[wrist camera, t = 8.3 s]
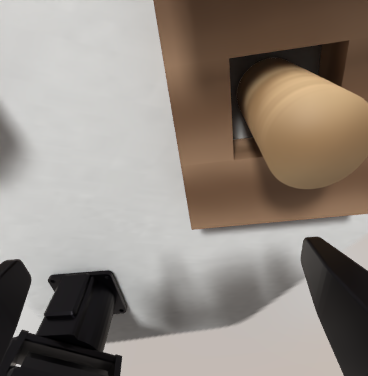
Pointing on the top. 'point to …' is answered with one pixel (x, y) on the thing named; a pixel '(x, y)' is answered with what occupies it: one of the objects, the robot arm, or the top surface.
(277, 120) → the peg
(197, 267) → the top surface
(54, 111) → the top surface
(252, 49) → the socket block
